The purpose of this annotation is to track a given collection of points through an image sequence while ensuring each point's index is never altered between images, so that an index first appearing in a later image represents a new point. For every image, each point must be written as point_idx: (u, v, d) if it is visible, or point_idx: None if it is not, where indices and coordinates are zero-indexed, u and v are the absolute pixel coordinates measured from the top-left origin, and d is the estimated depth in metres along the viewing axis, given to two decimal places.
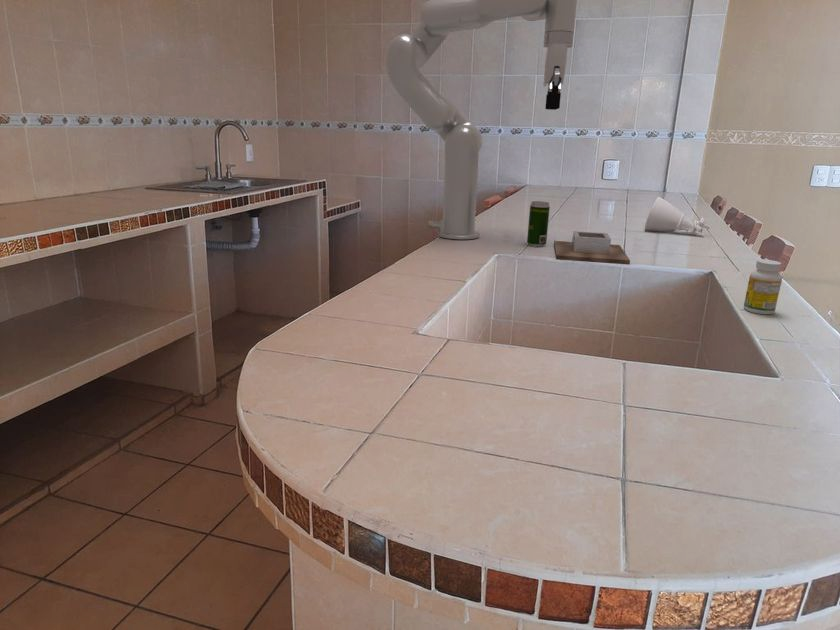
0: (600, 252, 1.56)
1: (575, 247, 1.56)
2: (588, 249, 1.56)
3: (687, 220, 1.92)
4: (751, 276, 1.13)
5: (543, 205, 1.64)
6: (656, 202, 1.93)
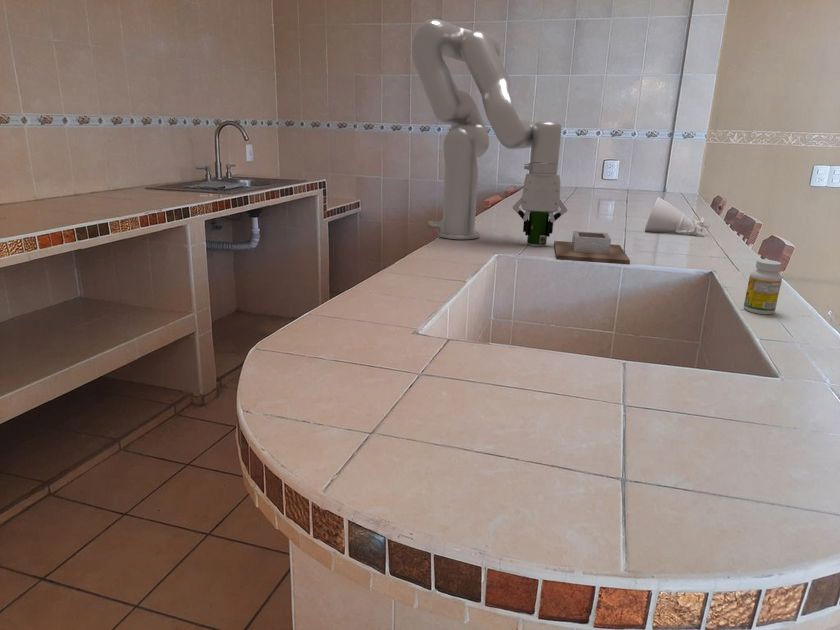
0: (600, 252, 1.56)
1: (575, 247, 1.56)
2: (588, 249, 1.56)
3: (687, 220, 1.92)
4: (751, 276, 1.13)
5: None
6: (657, 202, 1.92)
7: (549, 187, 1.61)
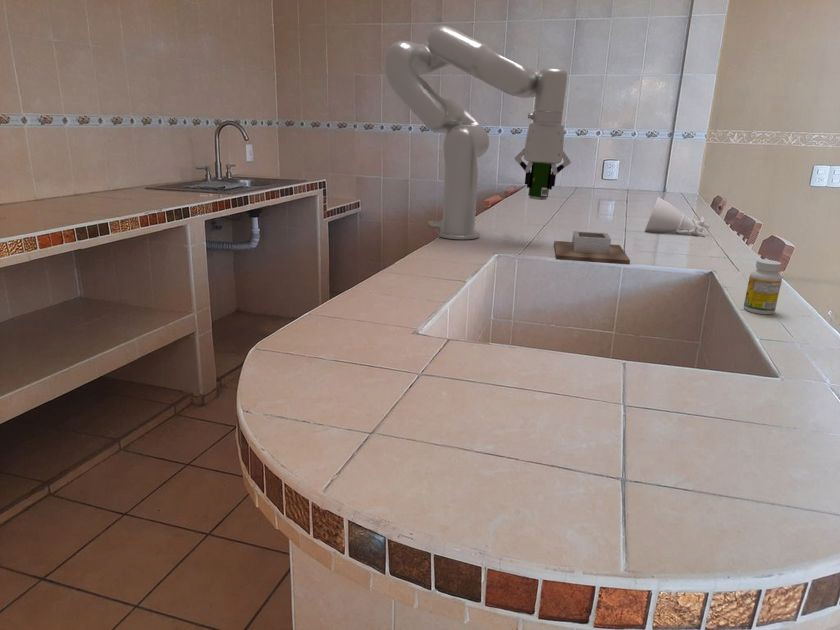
0: (600, 252, 1.56)
1: (575, 247, 1.56)
2: (588, 249, 1.56)
3: (688, 220, 1.92)
4: (751, 276, 1.13)
5: None
6: (657, 202, 1.92)
7: (553, 137, 1.57)
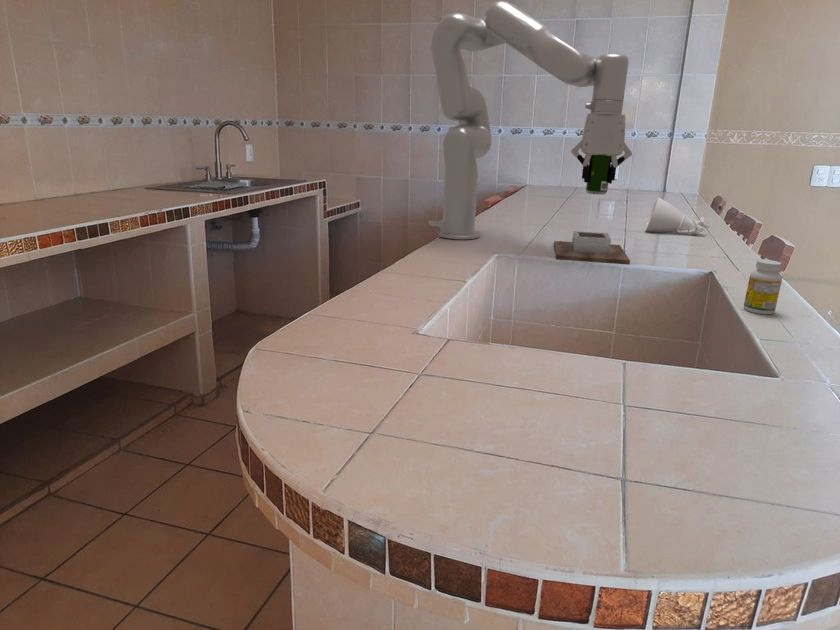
0: (600, 252, 1.56)
1: (575, 247, 1.56)
2: (588, 249, 1.56)
3: (688, 220, 1.92)
4: (751, 276, 1.13)
5: None
6: (658, 203, 1.92)
7: (614, 127, 1.48)
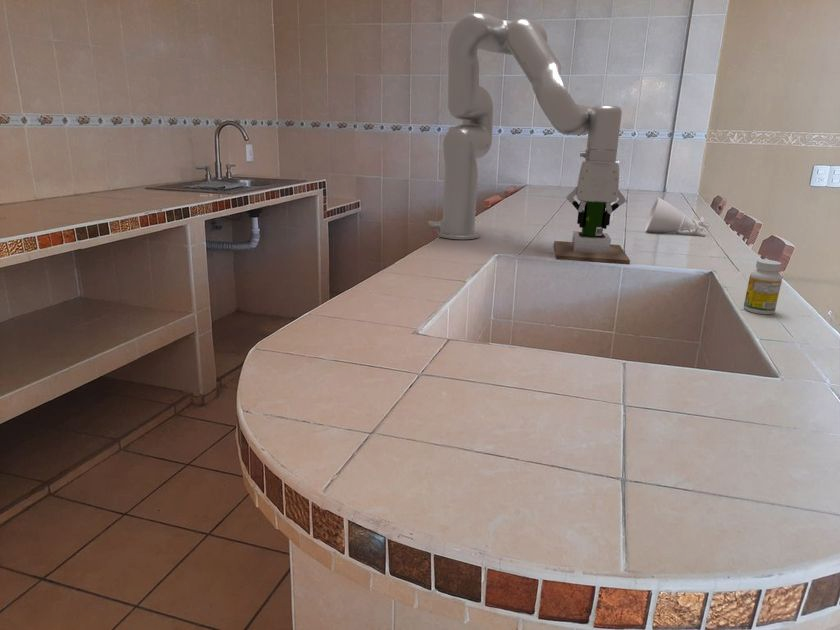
0: (600, 252, 1.56)
1: (575, 247, 1.56)
2: (588, 249, 1.56)
3: (688, 220, 1.92)
4: (751, 276, 1.13)
5: None
6: (659, 203, 1.91)
7: (608, 176, 1.51)
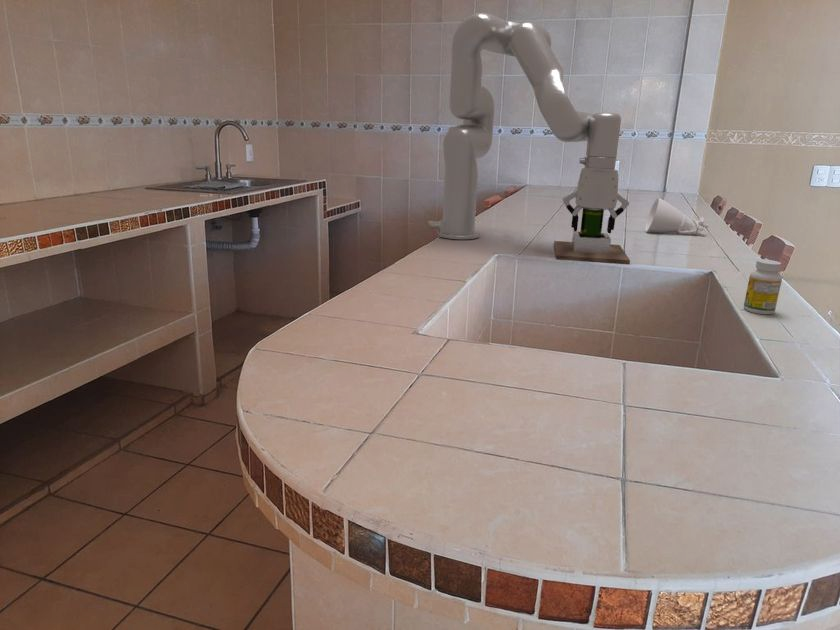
0: (600, 252, 1.56)
1: (575, 247, 1.56)
2: (588, 249, 1.56)
3: (689, 220, 1.92)
4: (751, 276, 1.13)
5: None
6: (659, 203, 1.91)
7: (607, 183, 1.52)
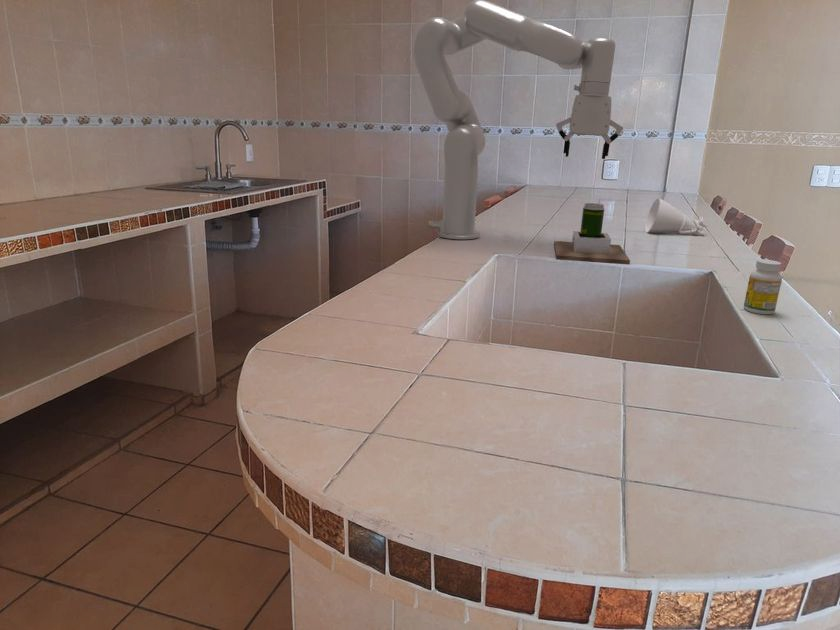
0: (600, 252, 1.56)
1: (575, 247, 1.56)
2: (588, 249, 1.56)
3: (689, 220, 1.92)
4: (751, 276, 1.13)
5: (598, 207, 1.54)
6: (661, 204, 1.90)
7: (600, 108, 1.55)
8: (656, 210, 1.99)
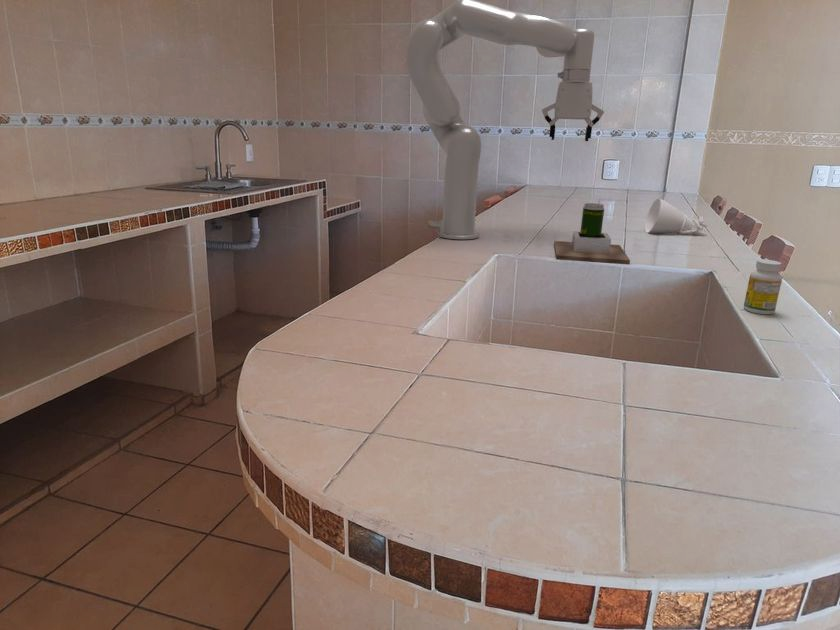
0: (600, 252, 1.56)
1: (575, 247, 1.56)
2: (588, 249, 1.56)
3: (689, 220, 1.92)
4: (751, 276, 1.13)
5: (598, 207, 1.54)
6: (662, 204, 1.89)
7: (582, 94, 1.68)
8: (656, 210, 1.98)
